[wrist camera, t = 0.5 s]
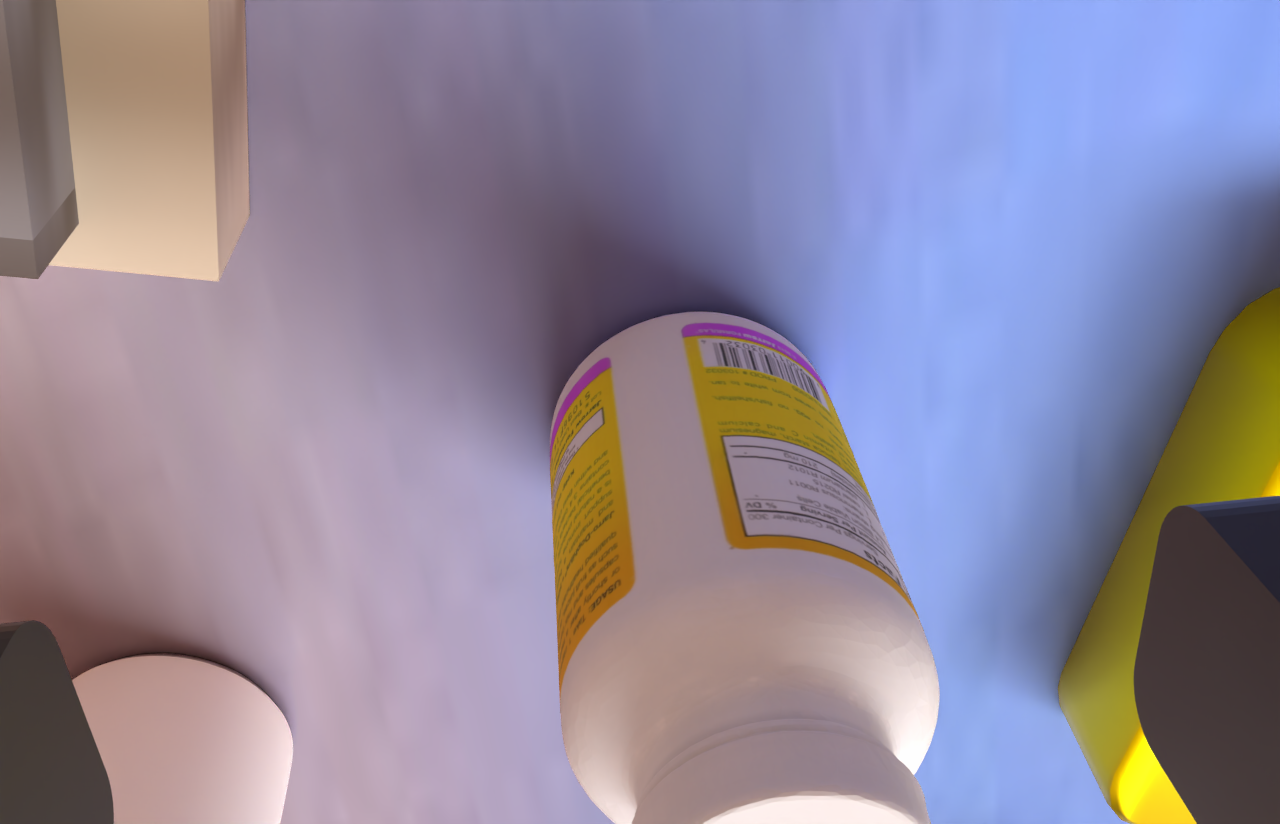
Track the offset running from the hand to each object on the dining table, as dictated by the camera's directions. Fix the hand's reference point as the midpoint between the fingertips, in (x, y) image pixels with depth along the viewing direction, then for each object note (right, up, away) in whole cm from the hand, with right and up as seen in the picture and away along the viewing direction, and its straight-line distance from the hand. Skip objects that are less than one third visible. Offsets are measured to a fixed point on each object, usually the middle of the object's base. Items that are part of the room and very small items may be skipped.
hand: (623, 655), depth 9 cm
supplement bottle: (+1, +2, +20) cm, 20 cm away
